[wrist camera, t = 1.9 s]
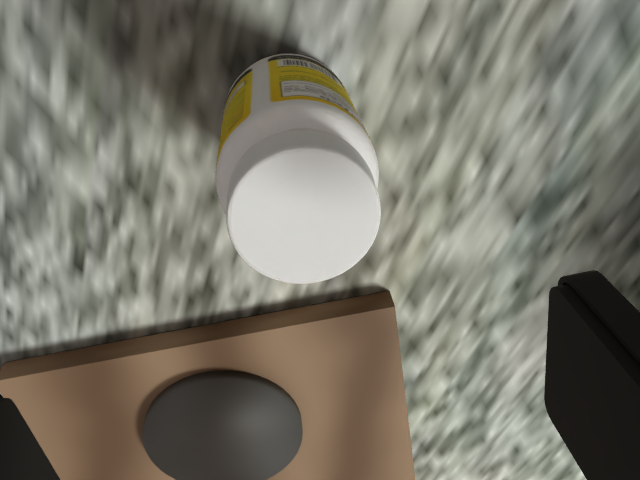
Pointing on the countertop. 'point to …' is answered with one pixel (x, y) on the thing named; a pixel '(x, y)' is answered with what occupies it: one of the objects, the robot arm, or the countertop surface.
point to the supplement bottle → (296, 171)
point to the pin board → (228, 400)
